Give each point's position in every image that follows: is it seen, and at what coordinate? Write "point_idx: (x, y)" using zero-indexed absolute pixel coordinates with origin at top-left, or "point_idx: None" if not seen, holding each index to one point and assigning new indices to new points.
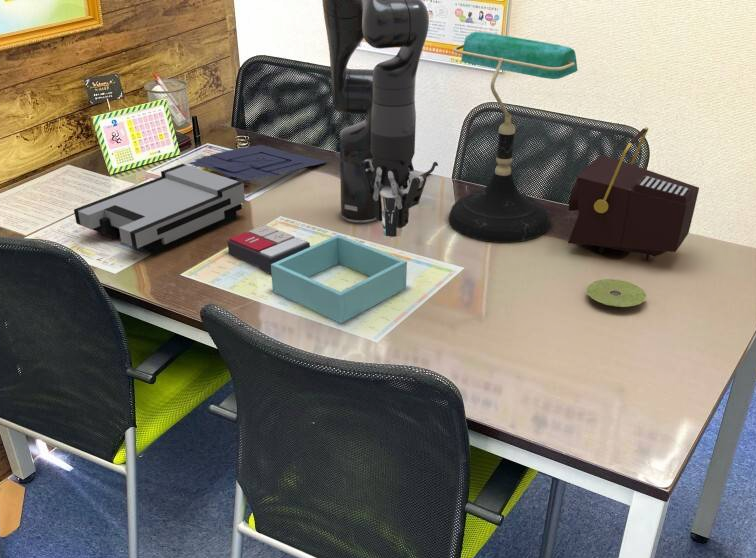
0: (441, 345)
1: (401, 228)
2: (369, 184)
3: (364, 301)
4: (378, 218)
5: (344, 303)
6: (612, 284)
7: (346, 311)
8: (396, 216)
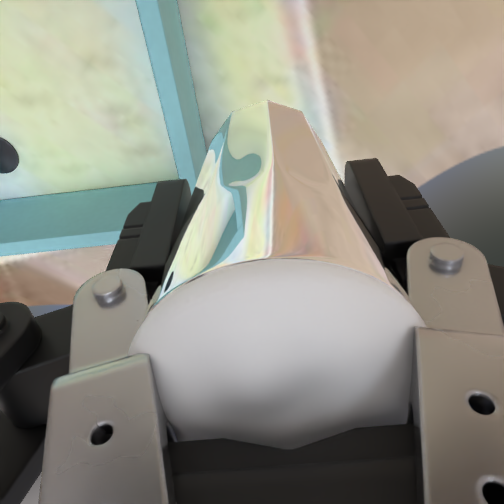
0: (492, 60)
1: (319, 142)
2: (26, 479)
3: (193, 110)
4: None
5: None
6: None
7: None
8: None
